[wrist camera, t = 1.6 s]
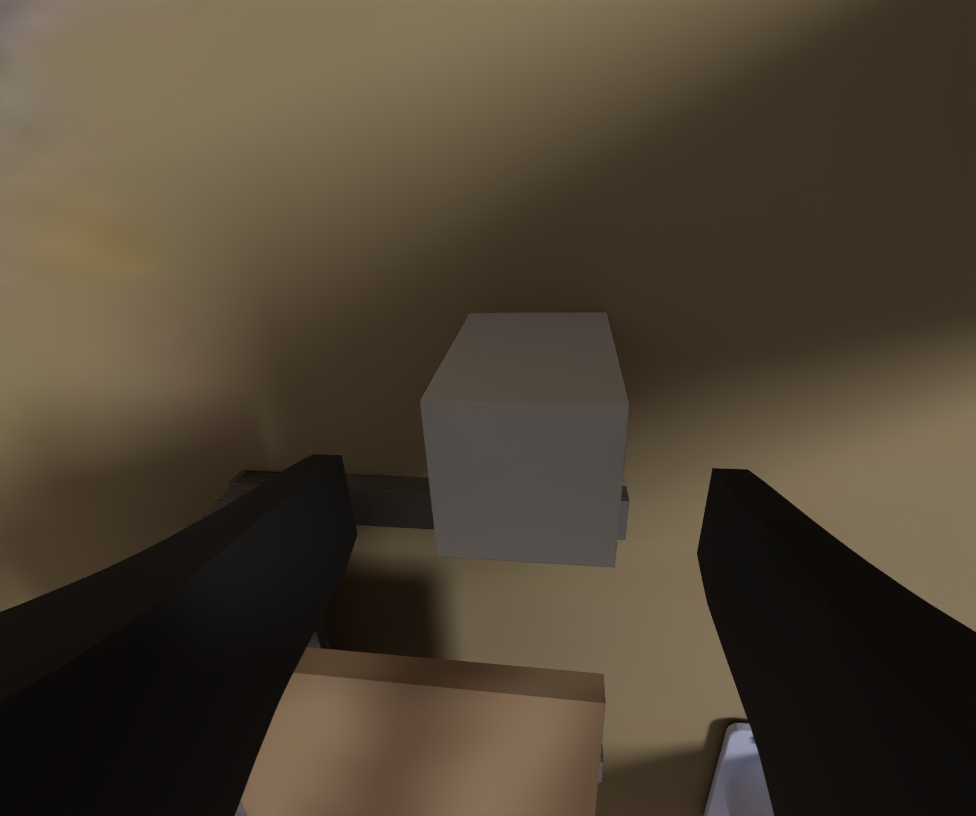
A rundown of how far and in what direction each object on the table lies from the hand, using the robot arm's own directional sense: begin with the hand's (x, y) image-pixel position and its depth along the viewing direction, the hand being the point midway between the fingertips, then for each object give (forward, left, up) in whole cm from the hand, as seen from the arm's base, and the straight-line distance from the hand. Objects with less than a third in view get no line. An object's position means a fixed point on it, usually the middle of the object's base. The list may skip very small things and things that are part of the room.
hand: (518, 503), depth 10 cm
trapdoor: (+7, +12, -2) cm, 14 cm away
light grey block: (0, 0, -7) cm, 7 cm away
